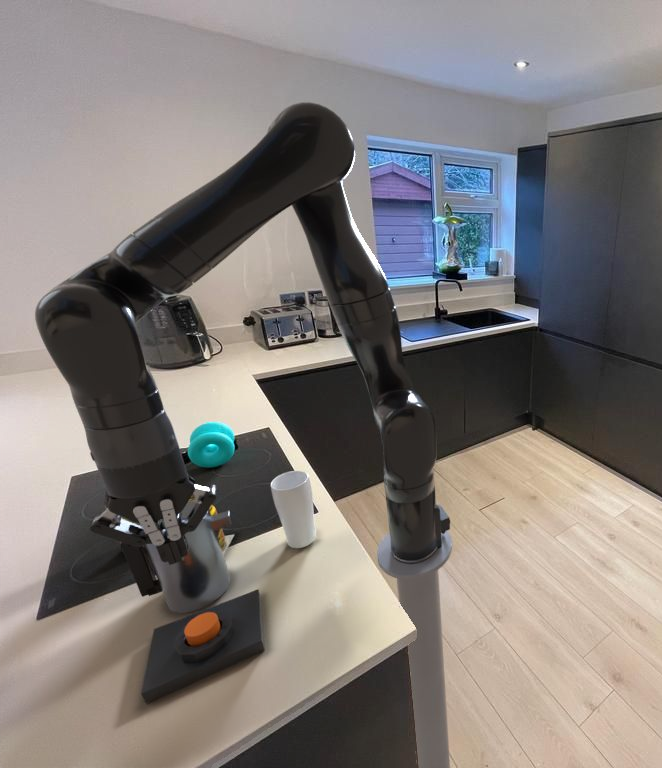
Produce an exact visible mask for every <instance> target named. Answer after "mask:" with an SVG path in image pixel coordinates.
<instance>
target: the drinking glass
mask: <svg viewBox="0 0 662 768" xmlns="http://www.w3.org/2000/svg"><path fill="white" fill-rule="evenodd" d="M269 486H270V491H271V496H272V500H273V504H274V507H275V510H276V513H277V515H278V518H279V521H280V523H281V526H282V530H283V532H284V534H285V537H286V540H287V545H288V546H289V547H290V548H291V549H302V548H305V547H308V546H309V545H311V544H312V543H313V542H314V541H315V539H316V538H317V530H316V524H315V512H314V499H313V498H314V497H313V490H312V483H311V480H310V476H309V474H308V473H307V472H306V471H303V470H291V471H286V472H283V473H282V474H279V475H277V476H276V477H274V479H272V481H271V482H270V485H269Z"/></svg>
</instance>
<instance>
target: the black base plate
mask: <svg viewBox="0 0 662 768" xmlns="http://www.w3.org/2000/svg"><path fill="white" fill-rule="evenodd" d="M262 605H263V604H262V597H261V594H260V589H255V590H252V591H249V592H247V593H244V594H242V595H239V596H237V597H234V598H231V599H229V600H226V601H224V602H221V603H219V604H215V605H213V606H211V607H208V608H205V609H203V610H200V611H198V612H195V613H192V614H189V615H187V616H185V617H181V618H179V619H176V620H174V621H171V622H169V623H167V624H166V623H165V624H163V625H161V626H159V627H156V628H154V629H153V631H152V637H151V642H150V647H149V652H148V657H147V662H146V667H145V672H144V678H143V682H142V687H141V692H140V693H141V697H142V699H143V701H144V703H145V705H148V704H150V703H152V702H155V701H156V700H158V699H160V698H163V697H166V696H167V695H169V694H172V693H174V692H176V691H179V690H180V689H182V688H185V687H187V686H189V685H192V684H194V683H196V682H198V681H200V680H202V679H205V678H207V677H209V676H212V675H214V674H215V673H218V672H220V671H222V670H225V669H227V668H229V667H231V666H233V665H236V664H237V663H240V662H243V661H244V660H246V659H249V658H251V657H253V656H256V655H258V654H260V653H262V652H265V650H266V647H265V636H264V635H265V633H264V621H263V606H262ZM207 612H213V613H215V614H216V615H217V617H218V620H219V623H220V626H221V627H220V631H219V633H218V634H217V635H216V636H215V637H214V638H213V639H211V640H210V641H209V642H207V643H205V644H202V645H200V646H191V645H189V644H188V641H187V639H186V636H185V634H184V630H185V627H186V626H187V624H188V623H189V622H190V621H191V620H192V619H194V618H195V617H197V616H199V615H201V614H203V613H207Z"/></svg>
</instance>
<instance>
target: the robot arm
mask: <svg viewBox="0 0 662 768" xmlns="http://www.w3.org/2000/svg"><path fill="white" fill-rule="evenodd" d="M355 150H356V149H355V142H354V139H353V136H352V133H351V131H350V129H349V127H348V125H347V124H346V123H345V122H344V120H343V119H342V118H341V117H340V116H339V115H338V114H337V113H336V112H335V111H333V110H332V109H330V108H328V107H327V106H325V105H322V104H319V103H315V102H311V101H309V102H307V101H304V102H298V103H293V104H291V105H288V106H287V107H285V108H284V109H282V110H281V111H280V113H279V114H278V115H277V116H276V117H275V119H274V120H273V121H272V122H271V124H270V125H269V127H268V129H267V132H266V134H265V135H264V136H263V137H262V138H261V140H260V141H259V142H258V143H257V144H256V145H255V146H254V147H253V148H252V149H250V150H249V151H248V152H247V153H246V154H245V155H243V157H241V158H240V159H239V160H238V161H236V163H234V164H233V165H231V166H230V167H228V168H227V169H226V170H225V171H223V172H222V173H221V174H219V175H217V176H215V178H213V179H211V180H209V182H207V183H205V184H204V185H202V186H200V187H199V188H197V189H196V190H194V191H193V192H191V193H189V194H188V195H186V196H184V197H182V198H181V199H179V200H178V201H176V202H175V203H173V204H171V205H170V206H168V207H167V208H165V209H164V210H162V211H161V212H160V213H158V214H156V215H155V216H154V217H152V218H151V219H150V220H148V221H147V222H145V223H144V224H142V225H140V226H139V227H138V228H137V229H135V230H134V231H133V232H132V233H130V234H129V235H127V236H126V237H125V238H123V239H122V240H121V241H120V242H119V243H118V244H117V245H115V247H114V248H113V249H112V250H111V251H110V252H109V253H107V254H105V255H104V256H102V257H100V258H99V259H97V260H95V261H93V262H92V263H90V264H89V265H86V266H85V267H84V268H82V269H80V270H79V271H78V272H76V273H75V274H73V275H71V276H69V277H68V278H67V279H64V280H63V281H62V282H59V284H57V285H56V286H54V287H52V289H50V290H49V291H48V292H47V293H46V294H45V295H43V296H42V298H40V300H39V301H38V302H37V304H36V307H35V311H34V320H35V325H36V327H37V330H38V333H39V336H40V339H41V341H42V342H43V345H44V346H45V348H46V350H47V352H48V354H49V356H50V357H51V359H52V361H53V363H54V364H55V366H56V367H57V369H58V371H59V373H60V374H61V376H62V377H63V379H64V380H65V381H66V384H68V387H69V391H70V394H71V397H72V400H73V404H74V405H75V408H76V410H77V413H78V415H79V418H80V420H81V423H82V425H83V429H84V432H85V436H86V442H87V447H88V449H89V451H90V452H89V454H90V458H91V460H92V461H93V462H94V464H95V466H96V468H97V471H98V473H99V476H100V478H101V480H102V483H103V485H104V488H105V491H106V490H107V493H108V495H109V502H108V505H107V507H108V509H106V508H105V510H104V511H102V512H98V513H97V514H96V515H95V516H94V518H93V521H92V523H91V526H90V529H89V530H90V531H91V532H92V533H95V534H98V535H101V536H104V537H106V538H109V539H111V540H114V541H118V542H119V543H120V542H123V543H126V544H129V545H131V546H134V547H142V546H143V545H145V544H153V545H155V546H156V548H157V551H158V553H159V556H160V558H161V561H163V562H164V563H165V562H168V563H169V565H171V564H174V563H178V562H181V561H183V560H184V556H187V554H188V548H189V545H188V542H187V539H186V536H185V534H186V533H187V532H192V531H194V530H195V529H196V528H197V526H198V525H199V523H200V522H201V520H202V519H203V517H204V516H205V514H206V513H207V511H208V510H209V508H210V507H211V505H212V506H213V504H214V502H215V501H216V499H217V491H218V488H217V485H215V484H210V485H207V486H205V485H204V486H202V485H200V484H197V481H196V479H194V478H193V477H191V476H190V475H189V472H188V470H187V467H186V464H185V461H184V458H183V455H182V452H181V448H180V445H179V442H178V438H177V436H176V433H175V430H174V427H173V423H172V422H171V419H170V417H169V416H168V414H167V412H166V410H165V406H164V404H163V400H162V397H161V394H160V391H159V388H158V386H157V383H156V379H155V378H154V376H153V374H152V372H151V371H150V369H149V368H148V367H147V362H146V359H145V356H144V352H143V348H142V347H143V346H142V343H141V340H140V336H139V333H138V329H137V328H138V327H137V323H138V322H139V321H140V320H142V319H143V318H144V317H145V316H147V314H149V313H150V312H152V311H153V310H154V309H156V307H158V306H159V305H160V304H161V303H163V302H164V301H166V300H167V299H168V298H171V297H175V296H177V295H180V294H181V293H183V292H185V291H186V290H188V289H189V288H190V287H192V286H193V285H194V284H195V283H198V281H200V280H201V279H202V278H203V277H204V276H206V275H207V274H208V273H210V272H211V271H212V270H213V269H215V268H216V267H217V266H218V265H220V264H221V263H222V262H223V261H225V259H227V258H228V257H229V256H230V255H231V254H233V253H234V252H236V250H237V249H239V247H240V246H241V245H243V244H244V243H245V242H246V241H247V240H249V239H250V238H251V237H252V236H253V235H254V234H255V233H257V232H258V231H259V230H260V229H261V228H262V227H264V226H265V225H266V224H267V223H269V222H270V221H271V220H273V219H274V218H275V217H277V216H278V215H279V214H281V213H282V212H284V211H285V210H286V209H288V208H289V207H292V209H293V211H294V213H295V215H296V217H297V219H298V221H299V224H300V225H301V228H302V230H303V232H304V235H305V238H306V240H307V243H308V247H309V250H310V253H311V257H312V259H313V263H314V265H315V269H316V271H317V274H318V276H319V279H320V282H321V285H322V288H323V290H324V293H325V296H326V299H327V302H328V304H329V306H330V310H331V312H332V315H333V318H334V320H335V323H336V325H337V328H338V329H339V332H340V334H341V336H342V338H343V340H344V342H345V345H346V346H347V348H348V350H349V351H350V353H351V355H352V357H353V358H354V360H355V363H357V365H358V368H359V369H360V371H361V373H362V376H363V379H364V382H365V385H366V388H367V392H368V395H369V399H370V404H371V407H372V412H373V416H374V420H375V421H374V422H375V425H376V427H377V429H378V431H379V433H380V437H381V444H382V454H383V464H382V474H383V475H382V476H383V485H384V492H385V493H384V494H385V502H386V503H385V504H386V512H387V513H386V514H387V520H388V521H387V523H388V531H389V532H390V540H391V553H392V556H393V557H394V558H395V559H396V560H397V561H399V562H401V563H405V564H416V563H420V562H423V561H425V560H427V559H429V558H430V557H431V556H433V555H434V554H435V552H436V551H437V549H439V548H441V547H442V538H441V533H442V534H444V533H445V532H446V531H449V530H451V519H450V516H449V515H448V513H447V512H446V511H445V510H444V508H443V506H442V505H441V504H439V503H438V504H437V499H436V482H435V466H436V462H437V428H436V421H435V417H434V414H433V412H432V411H431V409H430V408H429V406H428V405H427V403H425V401H424V400H423V399H422V397H421V396H420V394H419V393H418V390H417V389H416V387H415V385H414V383H413V381H412V378H411V376H410V373H409V371H408V368H407V365H406V363H405V359H404V353H403V344H402V343H403V342H402V333H401V332H402V331H401V325H400V320H399V315H398V311H397V307H396V304H395V302H394V298H393V295H392V293H391V289H390V285H389V283H388V280H387V278H386V276H385V273H384V272H383V270H382V268H381V266H380V264H379V263H378V260H377V259H376V257H375V255H374V254H373V253H372V251H371V249H370V248H369V246H368V245H367V243H366V242H365V240H364V238H363V237H362V235H361V233H360V232H359V229H358V228H357V225H356V223H355V221H354V219H353V217H352V213H351V211H350V207H349V204H348V200H347V197H346V194H345V190H344V187H343V181H344V180H345V179H346V178H347V176H348V175H349V173H350V172H351V171H352V168H353V165H354V162H355V158H356V157H355V156H356V151H355ZM194 495H195V500H194V501H195V503H196V504H195V506H194V507H193V509H192V510H191V512H190V513H189V515H188V516H187V518H186V519H185V520H183V521H182V519H181V511H182V510H183V509H184V507H185V506H186V504H187V502H188V501H189V499H190V498H191V496H194ZM122 517H124V518H126V519H128V520H131V521H133V522H135V523H139V524H141V526H139V525H137V524H134V523H132V522H129V521H126V520H124V519H122ZM162 519H164V522H165V524H164V522H163V520H162ZM167 531H168V532H167Z"/></svg>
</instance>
